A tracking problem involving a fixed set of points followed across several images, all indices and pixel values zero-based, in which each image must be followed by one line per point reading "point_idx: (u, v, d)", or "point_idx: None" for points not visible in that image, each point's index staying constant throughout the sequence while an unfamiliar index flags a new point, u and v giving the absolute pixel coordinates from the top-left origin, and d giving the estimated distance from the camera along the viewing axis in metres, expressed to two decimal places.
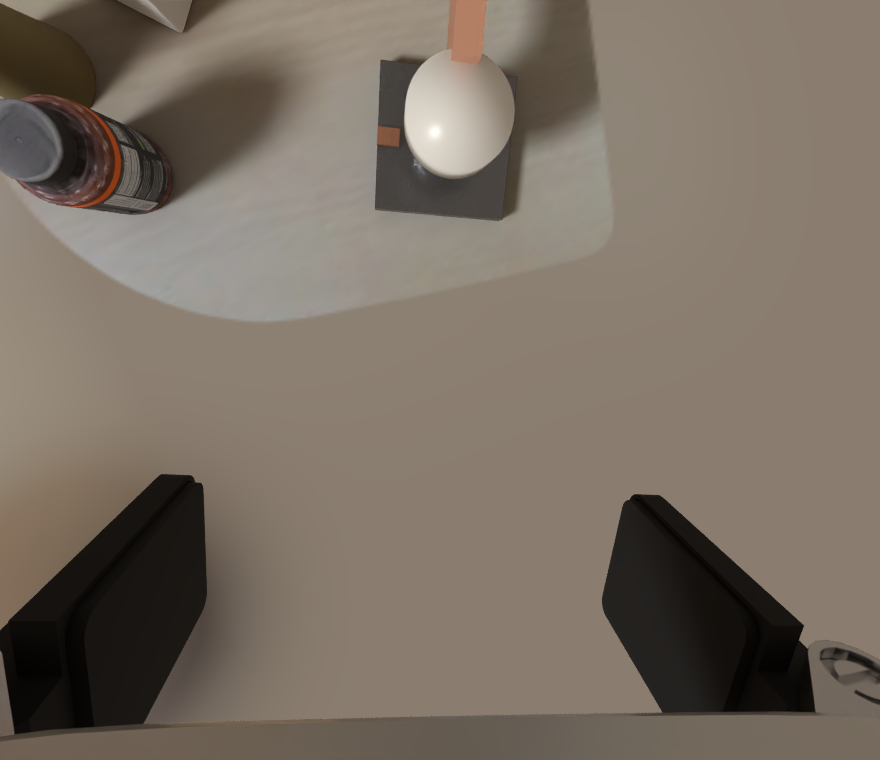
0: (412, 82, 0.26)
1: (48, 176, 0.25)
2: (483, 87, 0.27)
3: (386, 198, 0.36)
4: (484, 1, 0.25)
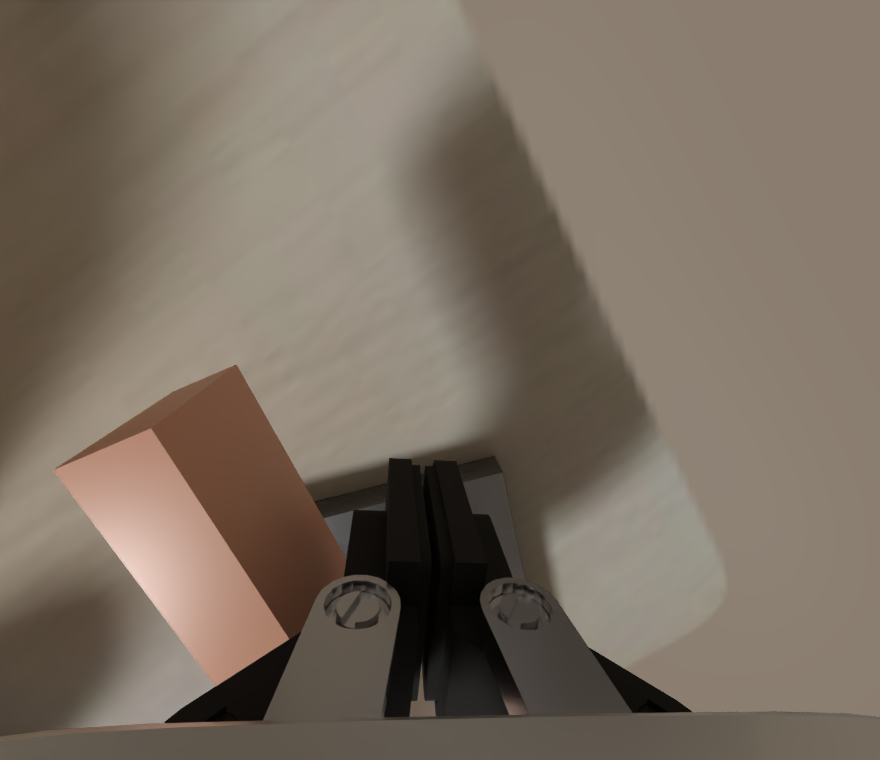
0: None
1: None
2: None
3: None
4: None
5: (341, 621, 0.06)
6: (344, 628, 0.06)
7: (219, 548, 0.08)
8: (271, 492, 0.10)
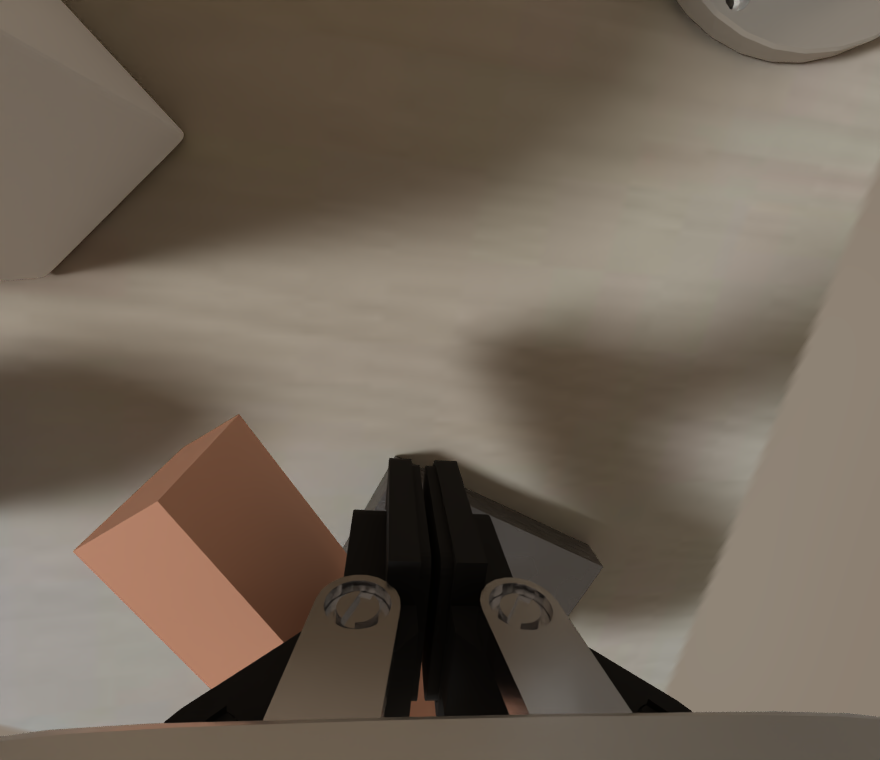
0: None
1: None
2: None
3: None
4: None
5: (341, 621, 0.06)
6: (344, 628, 0.06)
7: (238, 604, 0.08)
8: (286, 536, 0.10)
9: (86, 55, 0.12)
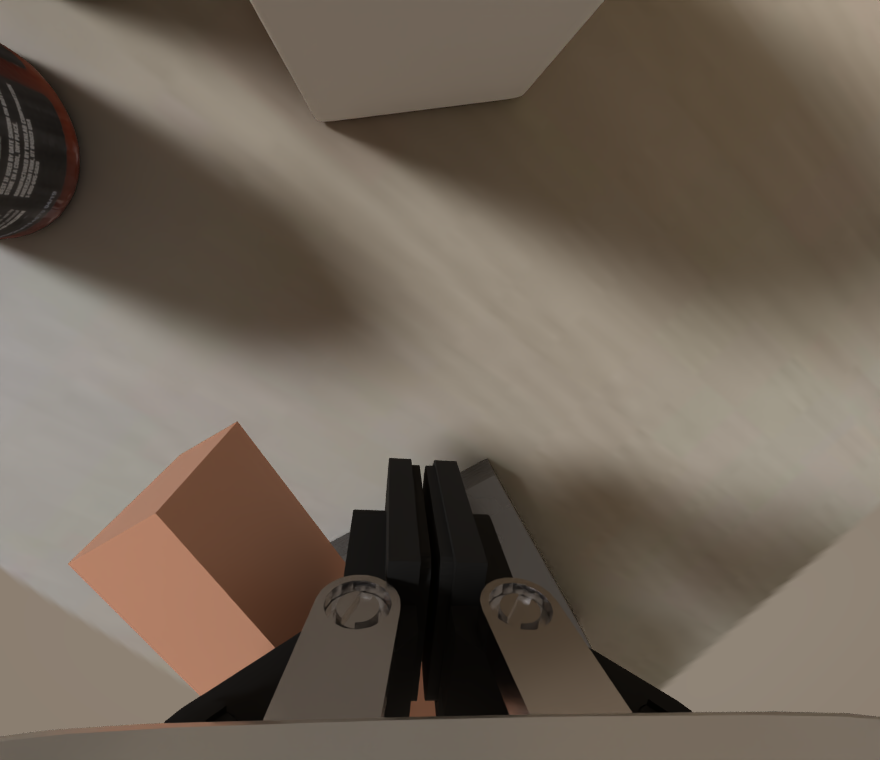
0: None
1: None
2: None
3: None
4: None
5: (341, 621, 0.06)
6: (344, 628, 0.06)
7: (237, 617, 0.08)
8: (285, 545, 0.10)
9: None
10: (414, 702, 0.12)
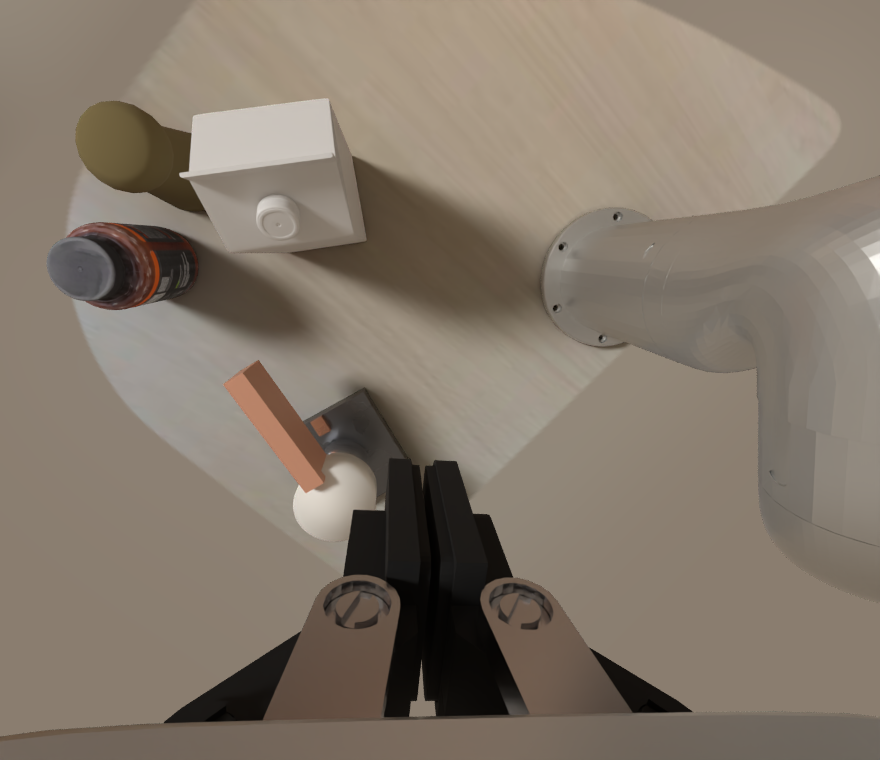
0: (295, 512, 0.36)
1: None
2: (338, 485, 0.36)
3: None
4: (302, 457, 0.34)
5: (340, 621, 0.06)
6: (343, 628, 0.06)
7: (260, 400, 0.33)
8: (272, 393, 0.35)
9: (362, 222, 0.37)
10: (314, 450, 0.37)
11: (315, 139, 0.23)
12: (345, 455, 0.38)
